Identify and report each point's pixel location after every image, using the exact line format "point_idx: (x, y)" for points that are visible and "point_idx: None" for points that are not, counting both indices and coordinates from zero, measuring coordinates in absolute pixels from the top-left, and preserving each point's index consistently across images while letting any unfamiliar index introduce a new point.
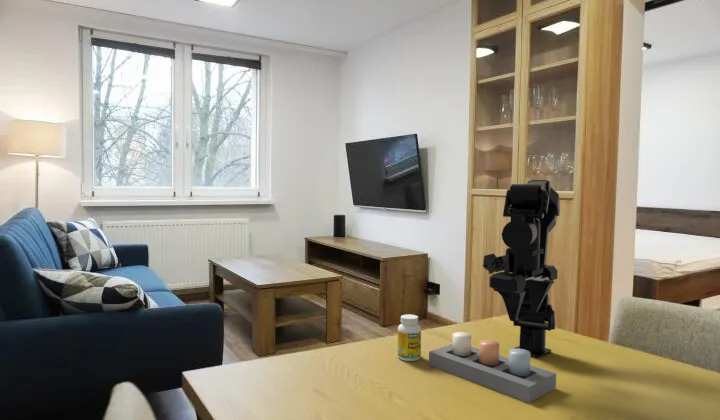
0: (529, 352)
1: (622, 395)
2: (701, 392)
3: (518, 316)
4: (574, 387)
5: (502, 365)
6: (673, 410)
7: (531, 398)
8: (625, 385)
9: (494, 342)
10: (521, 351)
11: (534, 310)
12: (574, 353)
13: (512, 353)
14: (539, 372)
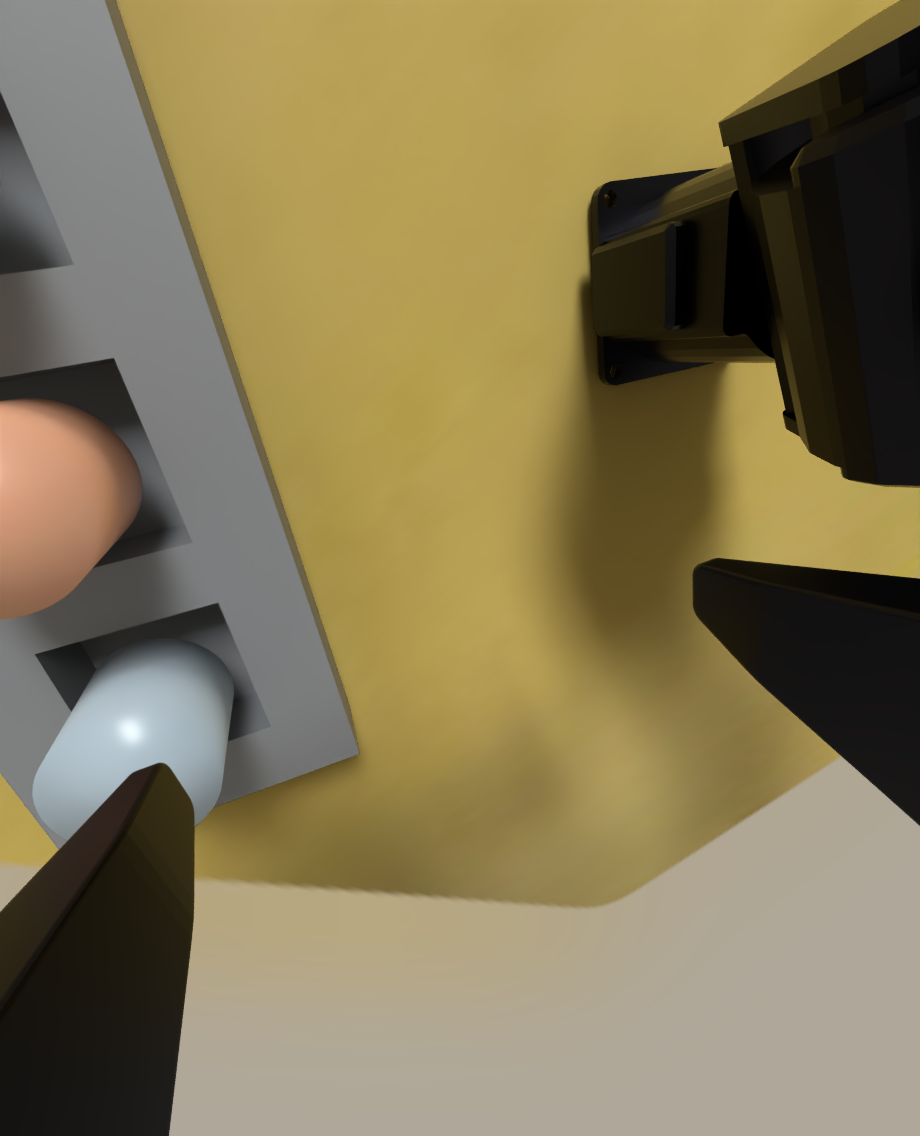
0: (206, 807)
1: (520, 800)
2: (716, 820)
3: (762, 208)
4: (433, 715)
5: (123, 576)
6: (543, 891)
7: None
8: (607, 744)
9: (50, 533)
10: None
11: (713, 607)
12: None
13: (36, 807)
14: (282, 728)
